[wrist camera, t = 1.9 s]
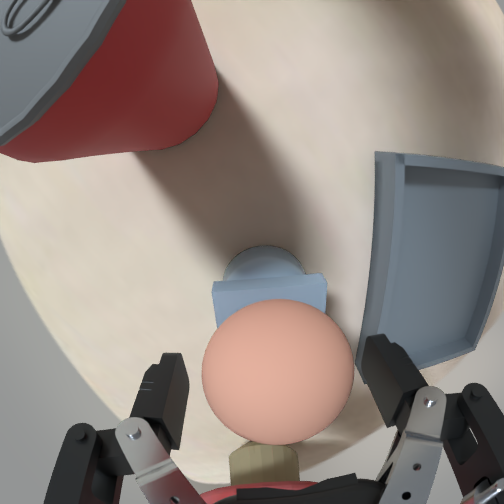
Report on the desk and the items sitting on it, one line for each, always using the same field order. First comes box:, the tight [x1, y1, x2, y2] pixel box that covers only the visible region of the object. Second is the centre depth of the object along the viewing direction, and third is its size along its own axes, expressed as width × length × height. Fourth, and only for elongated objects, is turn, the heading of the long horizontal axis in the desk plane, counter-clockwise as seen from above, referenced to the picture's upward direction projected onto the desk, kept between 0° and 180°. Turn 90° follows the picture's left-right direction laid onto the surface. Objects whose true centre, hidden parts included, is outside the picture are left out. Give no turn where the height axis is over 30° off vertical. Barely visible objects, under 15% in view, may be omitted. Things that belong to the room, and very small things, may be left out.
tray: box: [355, 151, 504, 384], centre depth 16 cm, size 16×12×2 cm
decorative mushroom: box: [200, 441, 318, 504], centre depth 17 cm, size 13×13×15 cm
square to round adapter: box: [212, 246, 327, 329], centre depth 15 cm, size 5×5×5 cm
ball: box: [202, 299, 354, 445], centre depth 10 cm, size 6×6×6 cm
